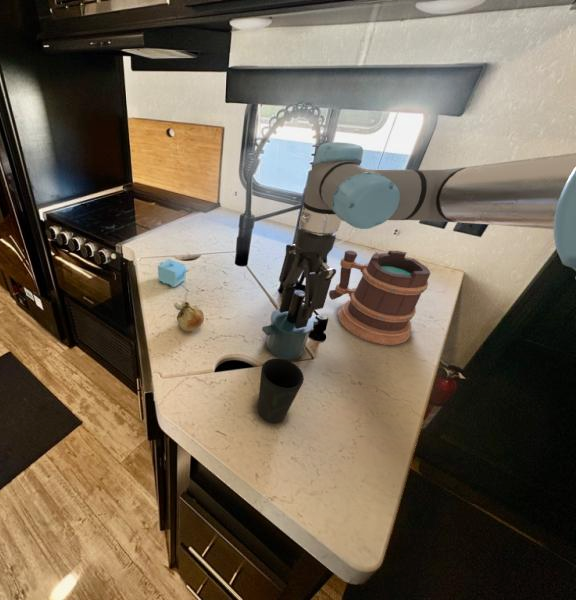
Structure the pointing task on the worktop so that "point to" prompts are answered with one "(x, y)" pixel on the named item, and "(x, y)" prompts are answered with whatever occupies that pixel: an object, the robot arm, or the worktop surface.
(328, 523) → the worktop surface
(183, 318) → the onion
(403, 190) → the robot arm
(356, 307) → the mug
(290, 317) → the lid
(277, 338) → the pot
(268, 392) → the cup
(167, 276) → the light-blue knobbed box
